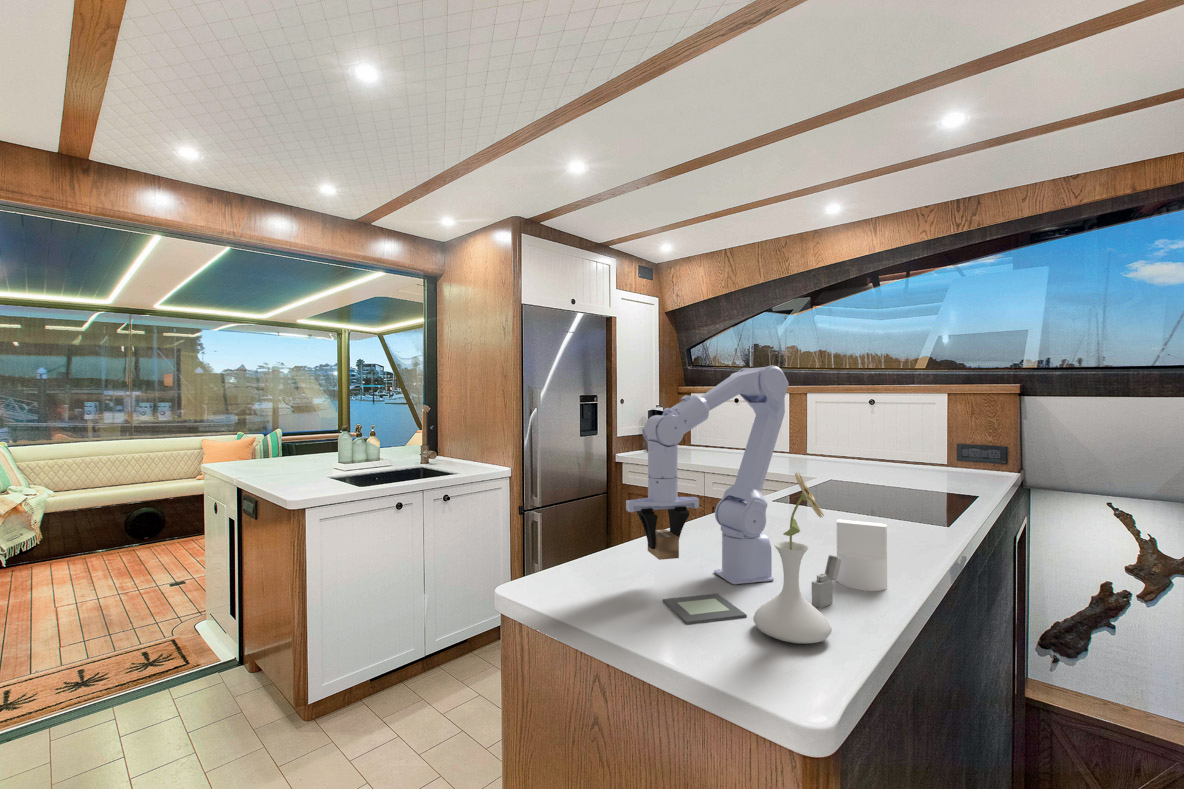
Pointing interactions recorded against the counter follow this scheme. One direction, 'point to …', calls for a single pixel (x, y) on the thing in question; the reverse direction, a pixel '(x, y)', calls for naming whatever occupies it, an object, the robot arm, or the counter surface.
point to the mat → (703, 608)
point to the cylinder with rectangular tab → (862, 554)
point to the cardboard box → (665, 545)
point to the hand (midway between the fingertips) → (662, 546)
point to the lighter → (825, 583)
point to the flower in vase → (793, 592)
